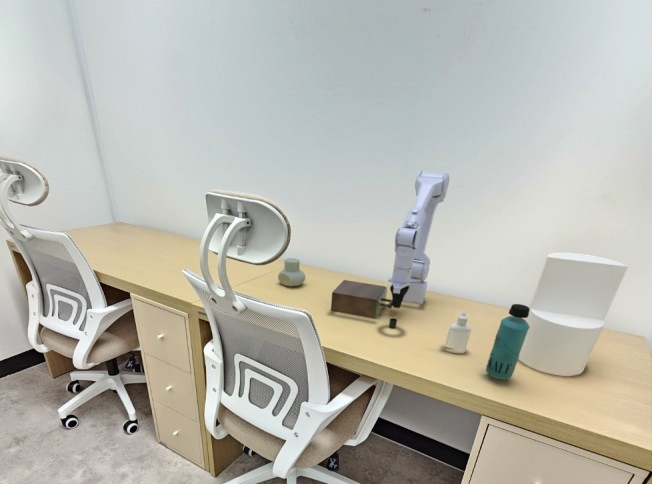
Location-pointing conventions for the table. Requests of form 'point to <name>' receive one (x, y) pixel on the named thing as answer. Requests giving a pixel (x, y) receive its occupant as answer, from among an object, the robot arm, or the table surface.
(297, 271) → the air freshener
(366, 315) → the cabinet
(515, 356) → the beverage bottle
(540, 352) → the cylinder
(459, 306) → the table surface
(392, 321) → the lid
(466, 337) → the eye dropper bottle
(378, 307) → the drawer
